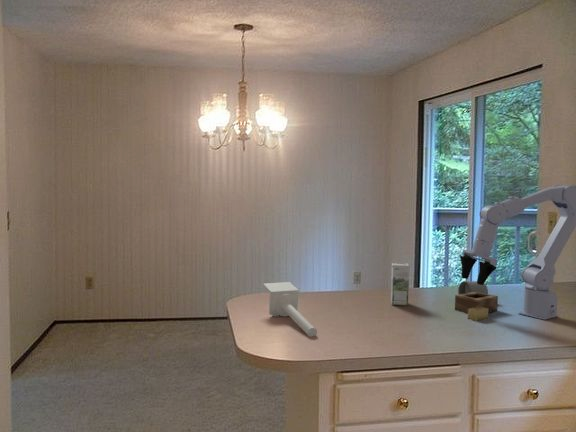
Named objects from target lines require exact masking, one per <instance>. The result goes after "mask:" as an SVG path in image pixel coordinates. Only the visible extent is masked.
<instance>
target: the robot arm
mask: <svg viewBox="0 0 576 432" xmlns="http://www.w3.org/2000/svg"><path fill="white" fill-rule="evenodd" d="M548 201H550V202H551V203H553V204H554V206H555V207H556V208H557V210H558V212H559V215H560V216H559V218H558V221H556V224H555V226H554V228H553V229H552V232H551V233H550V235H549V237H548V239H547V240H546V242H545V243H544V246H543V247H542V249H541V251H540V252H539V254H538V256H537V257H536V258H534V259H532V260H531V261H530V263H529V264H528V265H527V266H526V267H524V268H523V269H522V271H521V279H522V281H523V282H524V295H523V296H524V297H523V299H524V300H523V310H522V311H517V314H519V315H522V316H527V317H531V318H535V319H540V320H548V319H553V318H557V317H558V314H557V311H558V309H557V307H558V295H557V293H556V292H555V291H553V290H550V288H551V287H552V286H553V284H554V277H555V274H556V273H557V270H556V267H555V264H556V262H558V261H557V260H558V259H559V258H560V256H561V253H562V252H563V250H564V248H565V246H566V244H567V243H568V242H569V239H570V237H571V236H572V234H573V232H574V231H575V229H576V185H575V184H572V185H563V184H555V185H554V186H548V187H546V188H544V189H541V190H538V191H535V192H533V193H532V194H529V195H526V196H525V197H521V198H520V197H519V196H513V195H510V196H508V197H507V199H504V200H503V201H496V202H494V205H491V204H490V205H488V204H487V205H486V206H483V208H482V209H481V210H479V218H480V221H479V225H478V228H477V232H476V235H475V238H474V242H473V245H472V248H471V250H468V249H462V252H461V255H459V259H460V263H461V278H462V279H466V280H468V279H469V277H470V274H471V271H472V269H473V267H474V265H475V264H476V262H477V261H479V262H478V263H479V264H478V265H479V267H478V268H479V269H478V275H477V279H476V281H477V284H480V285H483V284H485V283H486V281H487V279H488V278H489V276H491V274H492V273H493V272H494V271H496V269H497V265H498V263H499V259H496V258H493V257H491V256H490V255H491V252H492V250H493V249H492V248H493V245H494V242H495V239H496V235H497V232H498V228H499V225H500V224H502V223H503V222H504V221H505V220H506V219H509V218H512V217H515V216H517V215H520V214H523V213H524V212H525V209H526V208H529V207H532V206H535V205H539V204H541V203H544V202H548ZM462 255H463V256H462Z"/></svg>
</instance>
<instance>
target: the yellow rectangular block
mask: <svg viewBox="0 0 576 432" xmlns="http://www.w3.org/2000/svg"><path fill="white" fill-rule="evenodd" d="M488 318H489V313H488V308H484V307H480V306H478V307H474V308H470V309H468V313H467V320H470V319H471V321H475V320H476V321H475V322H479V320H480V321H483V320H486V319H488Z"/></svg>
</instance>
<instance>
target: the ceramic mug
mask: <svg viewBox="0 0 576 432" xmlns="http://www.w3.org/2000/svg"><path fill="white" fill-rule="evenodd" d="M457 291H458V293H457V295H459V294H465V293H470V292H480V293H484V294H488V293H489V292H488V291H489V290H488V287H487V285H486V284H485V283H484V284H483V285H480V284H477V280H476V281H475V280H463V281H461V282H460V284H459V286H458V289H457Z"/></svg>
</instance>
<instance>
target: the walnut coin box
mask: <svg viewBox="0 0 576 432" xmlns="http://www.w3.org/2000/svg"><path fill="white" fill-rule="evenodd" d="M498 301H499V297H498V295H494V294H484V293H480V292H470V293H465V294H459V295H458V294H455V297H454V310H455V311H458V310H459V312H462V311H463V312H462V313H466V312H467V313H466V314H468V309H470V308H474V307H478V306H480V307H484V308H488V314H490V313H493V312H498V306H499V304H498Z"/></svg>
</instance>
